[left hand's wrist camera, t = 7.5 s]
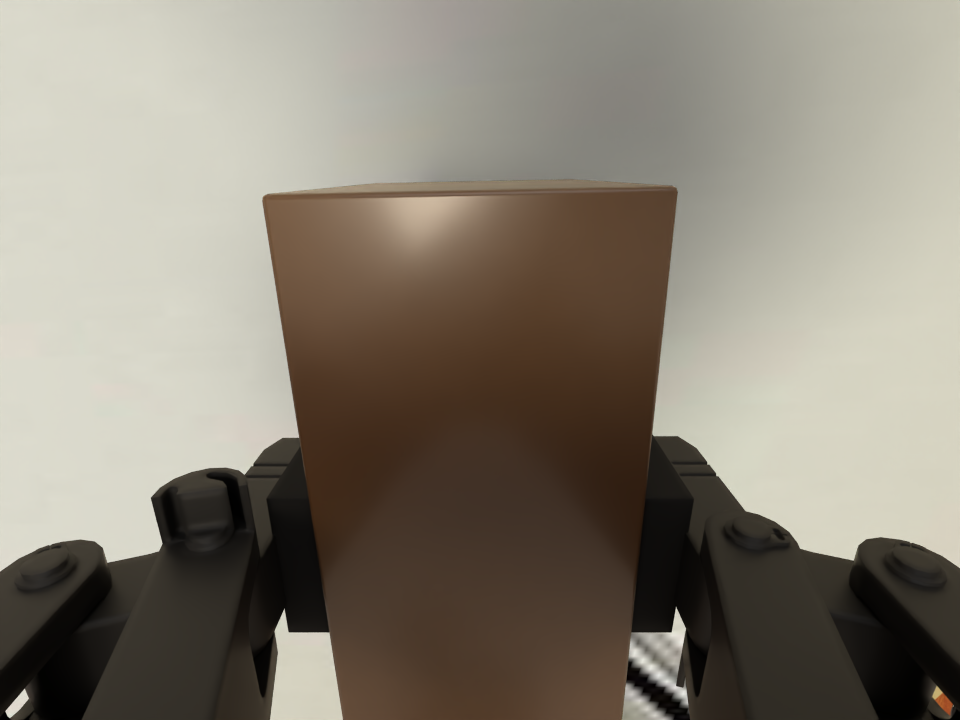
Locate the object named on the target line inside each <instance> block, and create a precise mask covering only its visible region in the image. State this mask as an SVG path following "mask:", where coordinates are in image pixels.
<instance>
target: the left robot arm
mask: <svg viewBox="0 0 960 720" xmlns="http://www.w3.org/2000/svg"><path fill="white" fill-rule="evenodd" d="M151 500H152V504H153V508H154V512H155V516H156V520H157V524H158V527H159V531H160V535H161V539H162V543H163V544H162V546H161V549H160V551H159V552H155V553H152V554H148V555H143V556H139V557H134V558H129V559H124V560H119V561H115V562H110V563H107V560H106V557H105V554H104V551H103V548H102V547H101V546H100V545H98V544H97V543H96V542H94V541H86V540H74V541H66V542H60V543H55V544H52V545H50V546H49V545H48V546H45V547H42V548H39V549H37V550H36V551H34V552H32V553H30V554H28V555H26V556H24V557H22V558H19V559H18V560H16V561H15V562H13V563H12V564H11V565H9V566H8V567H6V568H5V569H3V570H2V571H1V572H0V720H270V714H271V706H272V697H273V689H274V680H275V672H276V663H277V655H278V651H277V644H276V638H275V632H274V631H275V628H276V626H277V624H278V622H279V619H280V617H281V615H282V613H283V610H284V608H285V613H286V619H287V625H288V631H289V632H329V625H328V619H327V613H326V606H325V600H324V593H323V587H322V580H321V574H320V568H319V561H318V555H317V548H316V542H315V536H314V529H313V523H312V516H311V510H310V503H309V497H308V491H307V484H306V478H305V471H304V465H303V458H302V452H301V446H300V439H299V438H282V439H280V440H279V441H277V442H276V443H274V444H273V445H271V446H269V447H268V448H266V449H265V450H264V451H263V452H262V453H261V455H260V456H259V457H258V459H257V460H256V461H255V462H254V465H253V466H251V468H250V469H249V470H248V471H247V473H246V474H245V475H244V474H242V473H241V472H240V471H238V470H234V469H229V468H209V469H204V470H199V471H195V472H191V473H188V474H186V475H183V476H181V477H178V478H175V479H173V480H172V481H170V482H169V483H167V484H165V485H164V486H162V487H161V488H159V490H158V491H157V492H156V493H155V494H154V495H153V496H152V497H151ZM676 607H677V609H678V612H679V614H680V616H681V618H682V621H683V623H684V625H685V627H686V632H685V638H684V643H683V649H682V654H681V660H680V665H679V671H678V677H677V684H676V686H678V687H683V686H684V681H685V679H686V688H687V696H688V704H689V713H690V720H960V568H959V567H957V566H956V565H954V564H953V563H951V562H950V561H948V560H947V559H946V558H944V557H943V556H941V555H938V554H936V553H934V552H932V551H930V550H928V549H926V548H925V547H923V546H920V545H917V544H914V543H910V542H907V541H903V540H897V539H889V538H882V537H880V538H873V539H866V540H865V541H864V542H862V543H861V544H860V545H859V546H858V549H857V552H856V555H855V559H854V561H852V560H847V559H842V558H838V557H833V556H828V555H823V554H818V553H813V552H810V551H806V550H802V549H800V548H799V545H798V543H797V542H796V541H795V539H794V538H793V537H792V535H791V534H790V533H789V532H788V531H787V530H785V529H784V528H783V527H781V526H780V525H779V524H777V523H776V522H774V521H772V520H769V519H767V518H765V517H763V516H761V515H758V514H754V513H750V512H746V511H745V510H744V509H743V507H742V506H741V505H740V504H739V502H738V501H737V500H736V498H735V497H734V496H733V495H732V493H731V492H730V491H729V489H728V488H727V487H726V486H725V484H724V483H723V482H722V480H721V479H720V478H719V477H718V476H716V473H715V471H714V470H713V469H712V468H711V466H710V465H707V461H706V460H705V459H704V457H703V456H702V455H701V454H700V452H699V451H698V450H697V448H695V447H694V446H692V445H691V444H689V443H687V442H686V441H684V440H683V439H681V438H680V437H678V436H653V435H652V440H651V449H650V459H649V468H648V477H647V487H646V496H645V506H644V515H643V525H642V534H641V544H640V553H639V563H638V572H637V582H636V591H635V601H634V610H633V619H632V629H631V632H672V627H673V621H674V615H675V609H676ZM936 686H937V687H938V688H939V689H940V690H941V691H942V692H943V693H944V695H945V696H946V697H947V698H948V699H949V700H950V702H951V703H952V704H953V705H954V706H955V707H956V708H957V709H956V711H955V713H954V715H953V716H952V717H951V716H950V715H949V714H947V713H946V712H945V711H944V710H943V709H942V708H941V707H940V705H939V704H938V703H937V702H936V701H935V700H934V698H933V697H932V696H933V694H934V691H935V689H936ZM24 689H25V690H26V692H27V695H28V697H29V699H28V701H27V702H26V703H25V704H24V705H23V707H22V708H21V709H20V710H19V711H18V712H17V713H16V714H15V715H13V716H12V717H11V718H9V717H7V714H6V712H5V711H6V710H7V708H8V707H9V706H10V705H11V704H12V703H13V701H14V700H15V699H16V698H17V697H18V696H19V694H20V693H21V692H22V691H23V690H24Z"/></svg>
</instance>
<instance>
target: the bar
mask: <svg viewBox="0 0 960 720" xmlns="http://www.w3.org/2000/svg"><path fill="white" fill-rule="evenodd" d="M677 194H678V192H677V188H676V187H674V186H669V185H653V184H637V183H621V182H605V181H590V180H574V179H562V180H513V181H464V182H415V183H374V184H364V185H354V186H344V187H334V188H323V189H313V190H303V191H293V192H283V193H272V194H267V195H265V196H263V200H262V201H263V208H264V214H265V221H266V227H267V234H268V240H269V246H270V253H271V259H272V266H273V272H274V278H275V285H276V291H277V298H278V304H279V311H280V317H281V323H282V330H283V336H284V343H285V349H286V356H287V362H288V368H289V375H290V381H291V388H292V394H293V401H294V407H295V413H296V420H297V426H298V433H299V439H300V446H301V452H302V458H303V465H304V471H305V478H306V484H307V491H308V497H309V503H310V510H311V516H312V523H313V529H314V536H315V542H316V548H317V555H318V561H319V568H320V574H321V580H322V587H323V593H324V600H325V606H326V613H327V619H328V625H329V632H330V638H331V645H332V651H333V658H334V664H335V670H336V677H337V683H338V690H339V696H340V703H341V709H342V715H343V720H622V714H623V705H624V695H625V686H626V676H627V667H628V657H629V648H630V638H631V629H632V619H633V610H634V601H635V591H636V582H637V572H638V563H639V553H640V544H641V534H642V525H643V515H644V506H645V496H646V487H647V477H648V468H649V459H650V449H651V440H652V430H653V421H654V411H655V402H656V392H657V383H658V373H659V364H660V354H661V345H662V335H663V326H664V317H665V307H666V298H667V288H668V279H669V269H670V260H671V250H672V241H673V231H674V222H675V212H676V203H677Z"/></svg>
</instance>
